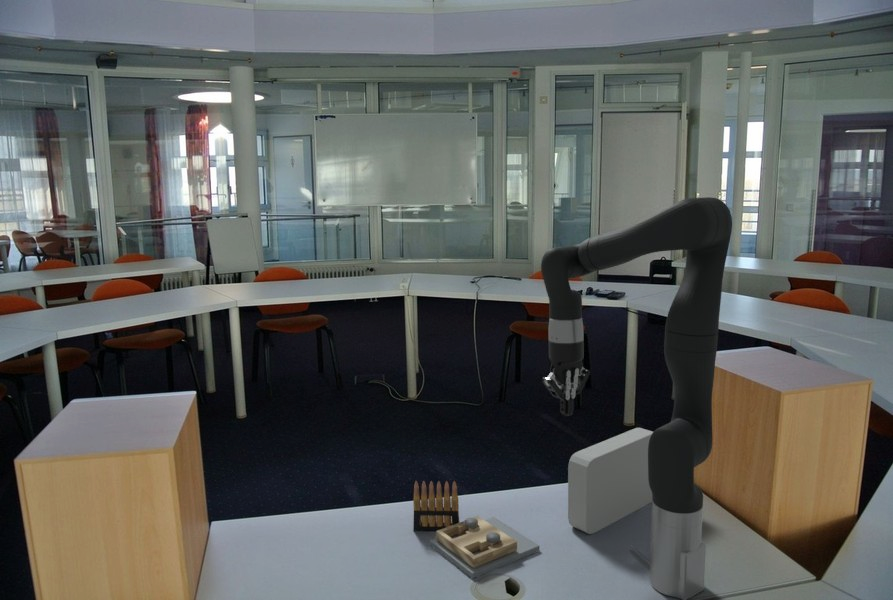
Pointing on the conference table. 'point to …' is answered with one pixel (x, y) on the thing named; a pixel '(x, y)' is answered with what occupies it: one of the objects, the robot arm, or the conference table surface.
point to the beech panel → (475, 542)
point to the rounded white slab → (609, 481)
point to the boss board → (523, 549)
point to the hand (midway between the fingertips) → (567, 414)
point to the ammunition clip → (435, 508)
